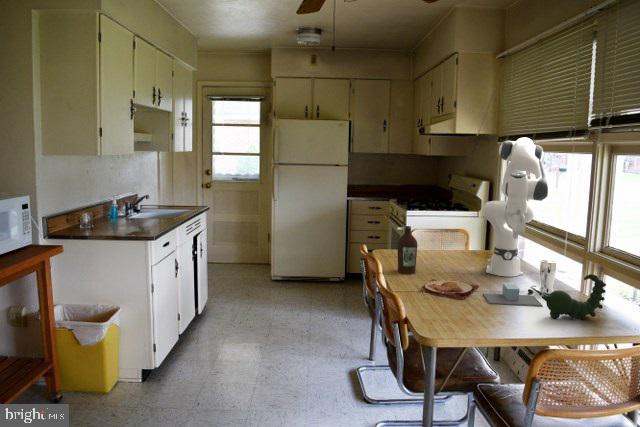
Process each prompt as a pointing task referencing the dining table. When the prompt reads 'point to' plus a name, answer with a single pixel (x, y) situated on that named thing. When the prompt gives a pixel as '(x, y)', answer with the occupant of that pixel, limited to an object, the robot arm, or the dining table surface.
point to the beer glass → (547, 275)
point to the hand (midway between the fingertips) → (515, 237)
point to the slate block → (510, 291)
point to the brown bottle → (407, 252)
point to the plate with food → (449, 288)
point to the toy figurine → (566, 305)
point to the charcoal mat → (523, 300)
